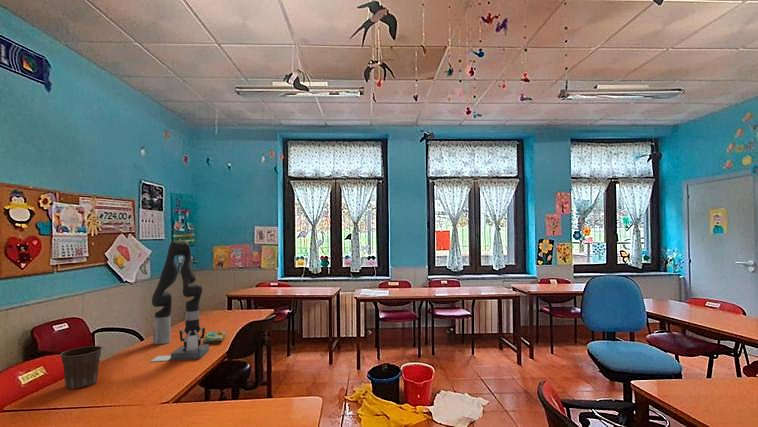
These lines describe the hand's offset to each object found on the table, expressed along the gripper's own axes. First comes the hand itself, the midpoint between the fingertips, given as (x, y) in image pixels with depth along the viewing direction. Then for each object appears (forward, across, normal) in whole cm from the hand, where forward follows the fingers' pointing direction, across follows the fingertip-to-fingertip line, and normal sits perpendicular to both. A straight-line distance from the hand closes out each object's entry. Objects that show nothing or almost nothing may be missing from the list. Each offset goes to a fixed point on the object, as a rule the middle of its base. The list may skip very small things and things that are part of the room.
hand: (192, 346), depth 235 cm
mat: (+5, +15, -1) cm, 16 cm away
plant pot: (+5, +50, +22) cm, 55 cm away
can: (+5, 0, 0) cm, 5 cm away
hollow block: (+5, +1, 0) cm, 5 cm away
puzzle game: (+6, -16, -27) cm, 32 cm away
